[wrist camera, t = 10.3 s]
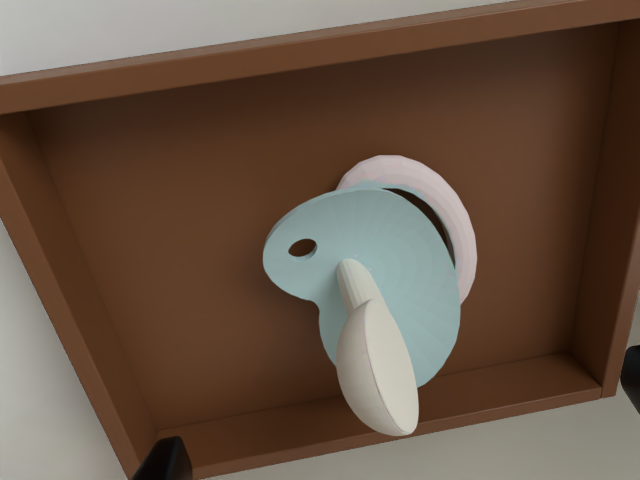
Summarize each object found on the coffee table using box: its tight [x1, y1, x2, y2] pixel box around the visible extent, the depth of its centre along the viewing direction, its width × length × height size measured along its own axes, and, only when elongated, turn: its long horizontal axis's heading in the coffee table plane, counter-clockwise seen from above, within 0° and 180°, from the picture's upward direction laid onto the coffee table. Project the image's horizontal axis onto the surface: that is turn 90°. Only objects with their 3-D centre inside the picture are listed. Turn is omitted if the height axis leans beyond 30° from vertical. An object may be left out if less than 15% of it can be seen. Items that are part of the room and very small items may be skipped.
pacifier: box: [263, 155, 477, 436], centre depth 13 cm, size 7×6×6 cm
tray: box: [0, 0, 640, 480], centre depth 14 cm, size 17×13×3 cm
